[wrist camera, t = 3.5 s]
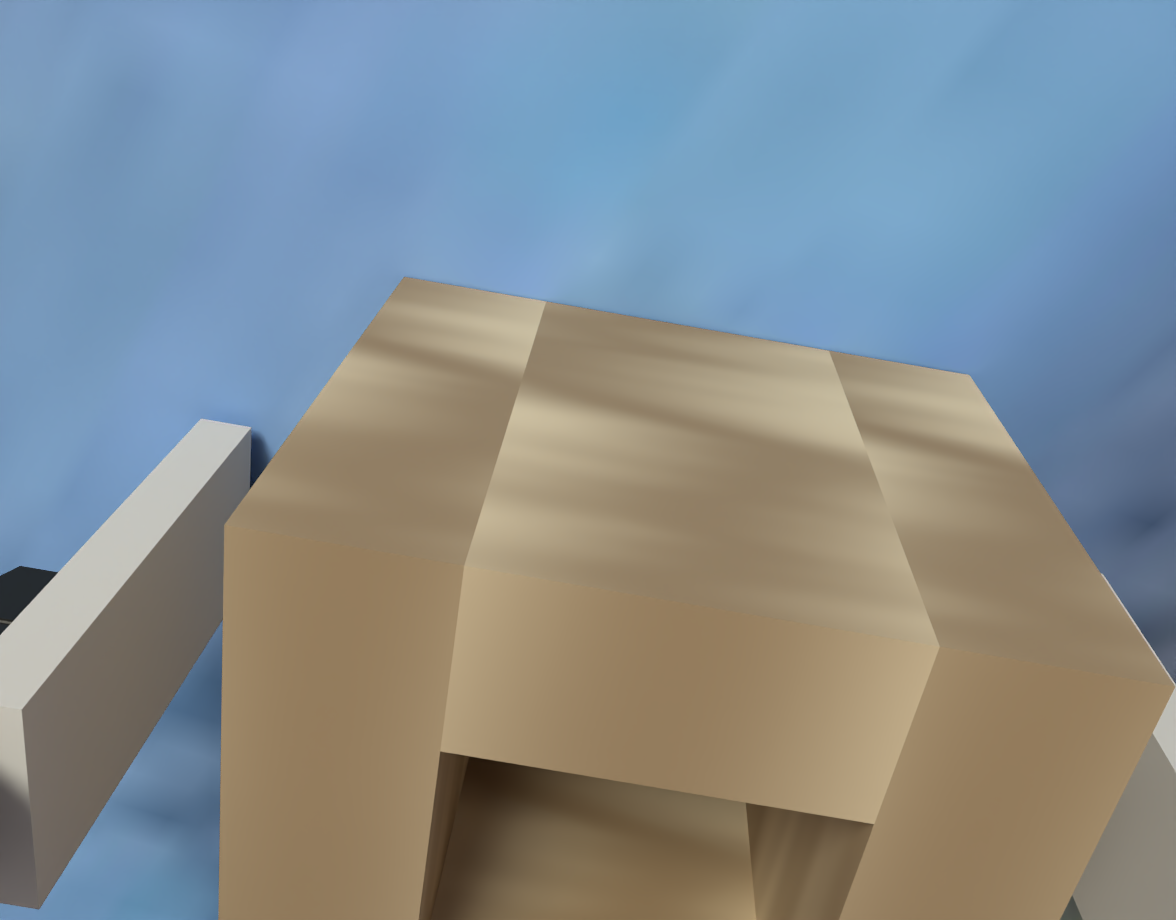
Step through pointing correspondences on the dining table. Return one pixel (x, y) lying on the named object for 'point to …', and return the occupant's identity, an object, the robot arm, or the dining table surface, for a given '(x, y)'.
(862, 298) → the dining table surface
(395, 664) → the bored block
